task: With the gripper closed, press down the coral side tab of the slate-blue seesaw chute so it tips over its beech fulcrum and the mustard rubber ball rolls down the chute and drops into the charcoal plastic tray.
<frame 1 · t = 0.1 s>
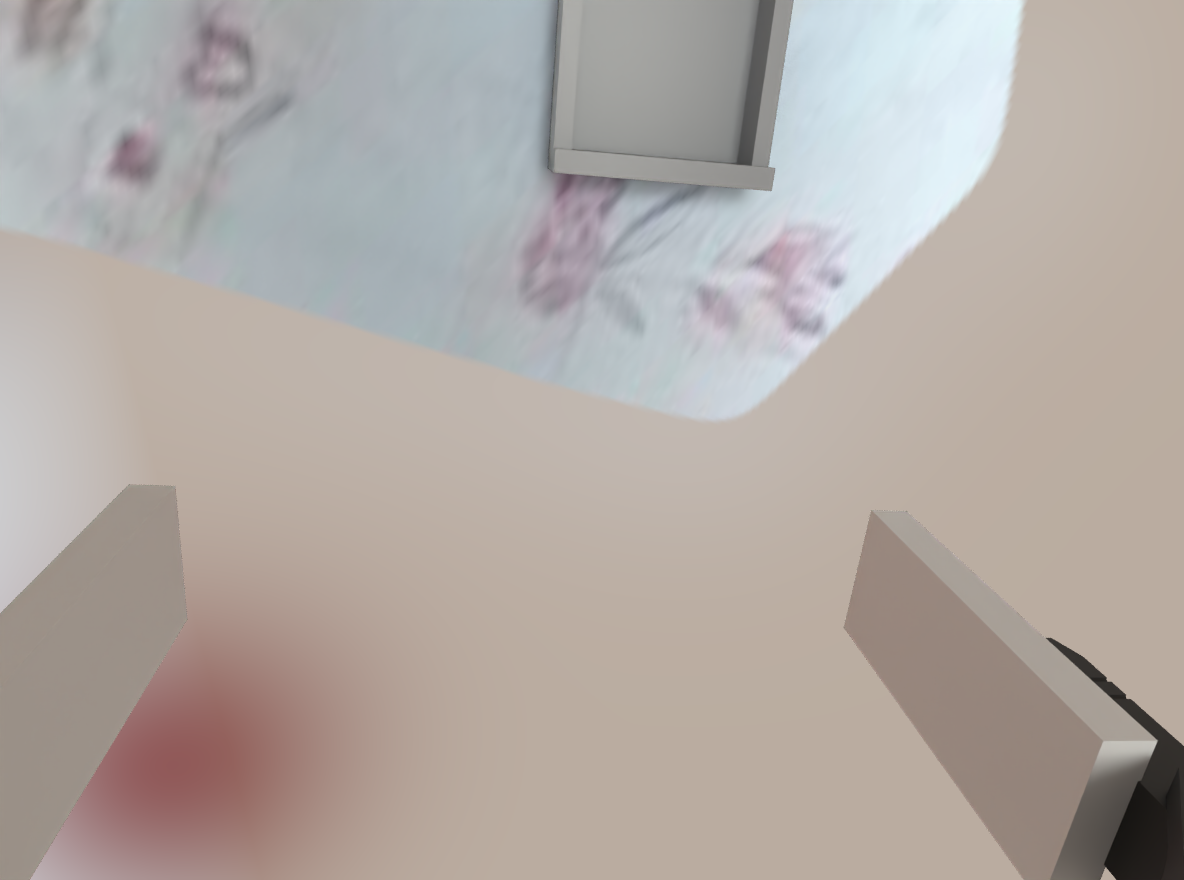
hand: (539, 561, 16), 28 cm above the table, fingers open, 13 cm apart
tray: (663, 31, 38), on the table
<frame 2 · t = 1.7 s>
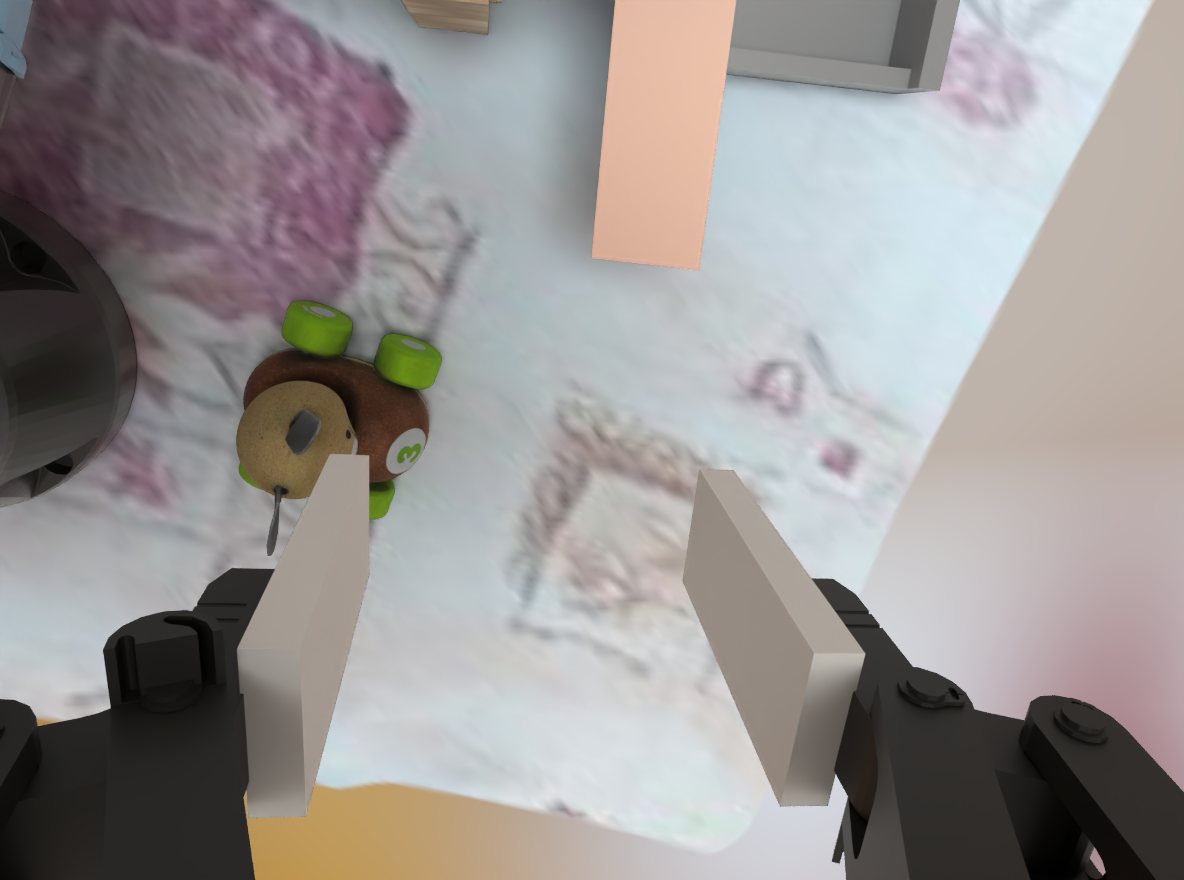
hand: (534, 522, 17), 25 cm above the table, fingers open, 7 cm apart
toy car: (345, 402, 42), on the table
lever: (441, 7, 28), point 8 cm above the table, hinge at -15.0°, touching ball
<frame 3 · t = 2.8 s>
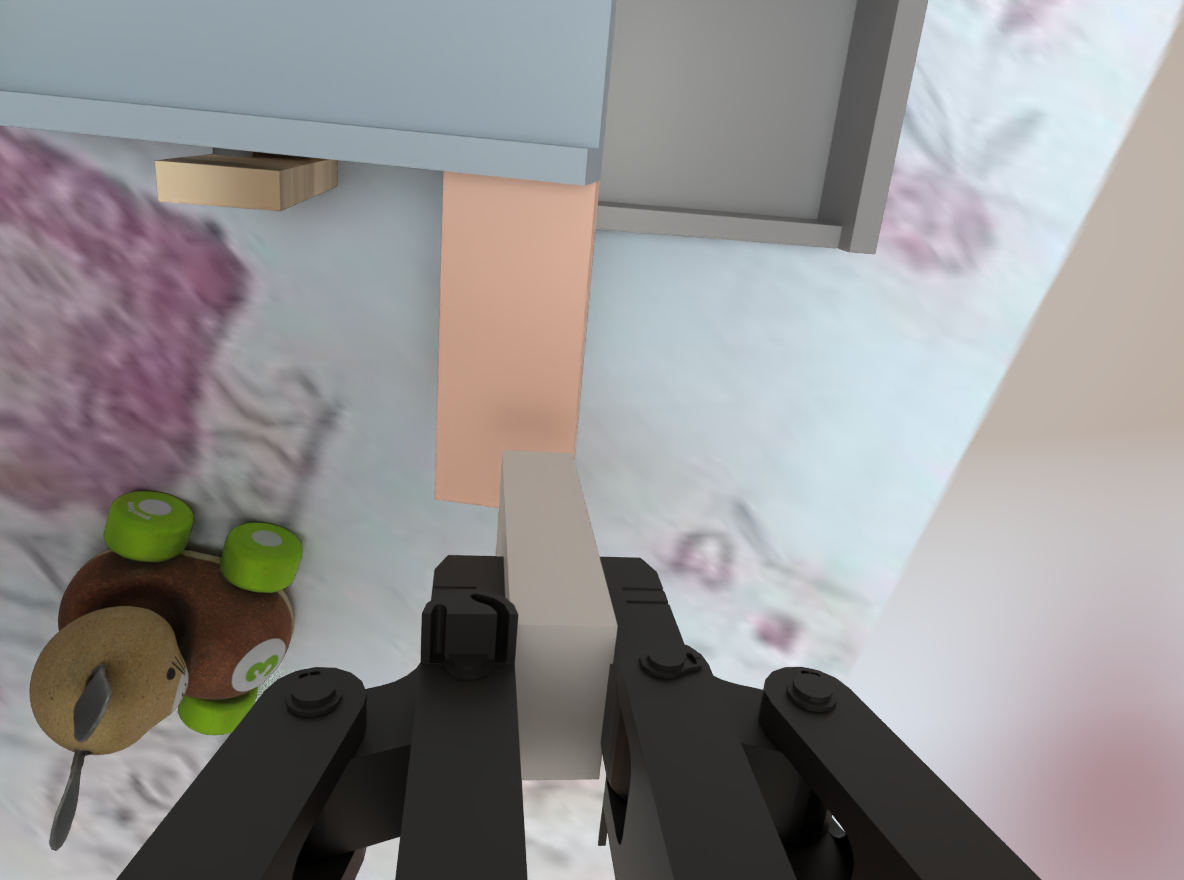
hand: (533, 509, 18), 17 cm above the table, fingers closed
toy car: (197, 594, 36), on the table
fulcrum: (290, 47, 28), on the table
tray: (693, 91, 31), on the table
lever: (229, 205, 22), point 8 cm above the table, hinge at -15.0°, touching ball
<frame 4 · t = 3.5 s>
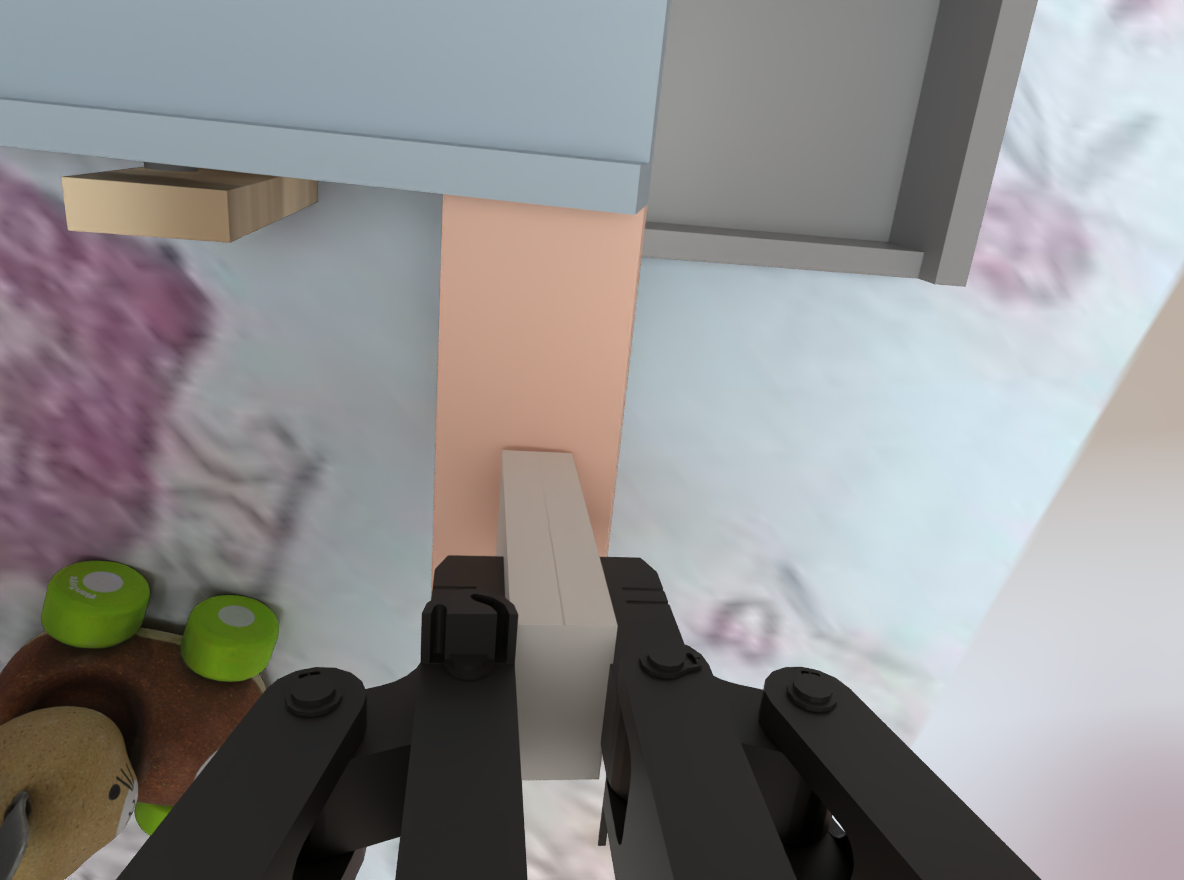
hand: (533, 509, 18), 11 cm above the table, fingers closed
toy car: (157, 674, 31), on the table
fulcrum: (259, 34, 23), on the table
tray: (745, 89, 26), on the table
lever: (166, 234, 17), point 8 cm above the table, hinge at -15.0°, touching ball, gripper
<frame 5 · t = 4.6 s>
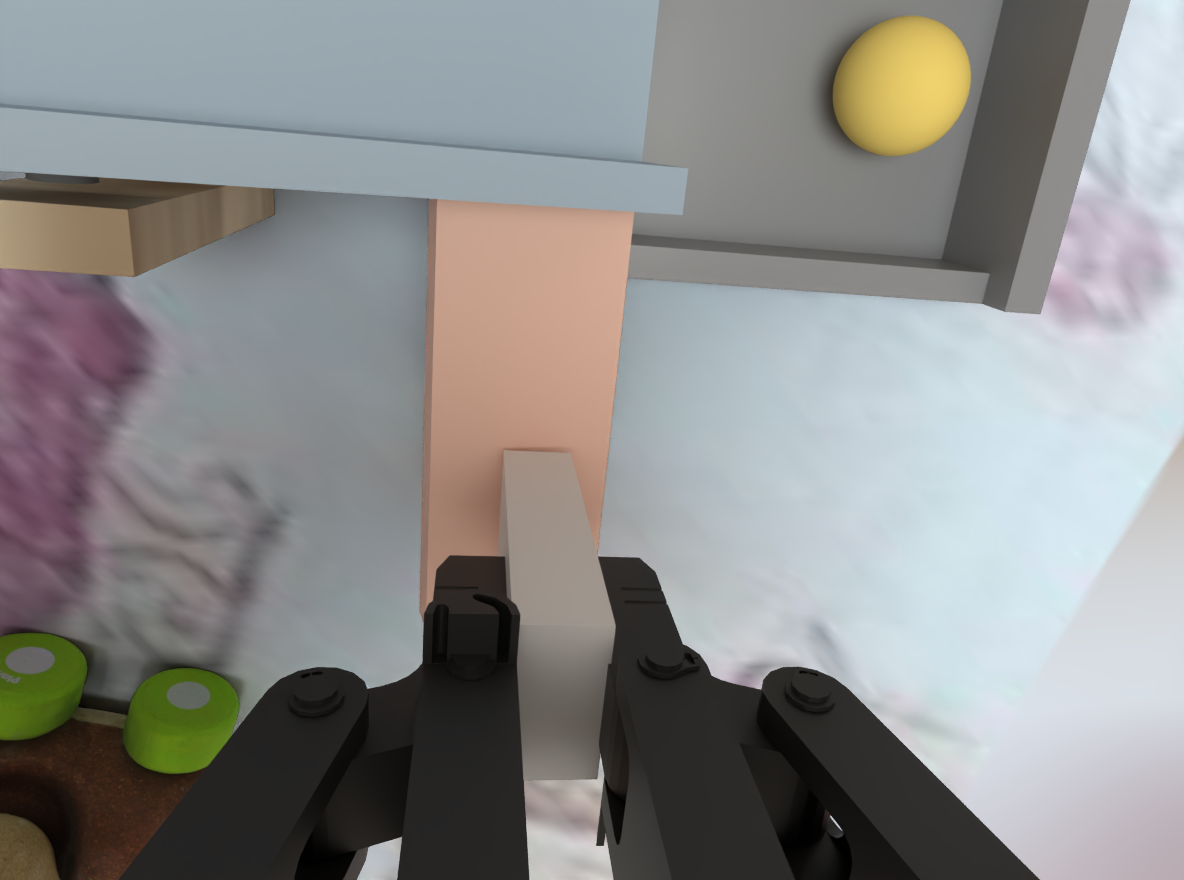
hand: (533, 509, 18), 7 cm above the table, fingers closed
ball: (899, 88, 20), point 2 cm above the table, tilted 166°, touching tray
toy car: (102, 756, 27), on the table
fulcrum: (201, 15, 20), on the table
tray: (778, 81, 22), on the table
lever: (69, 264, 13), point 8 cm above the table, hinge at 13.4°, touching gripper
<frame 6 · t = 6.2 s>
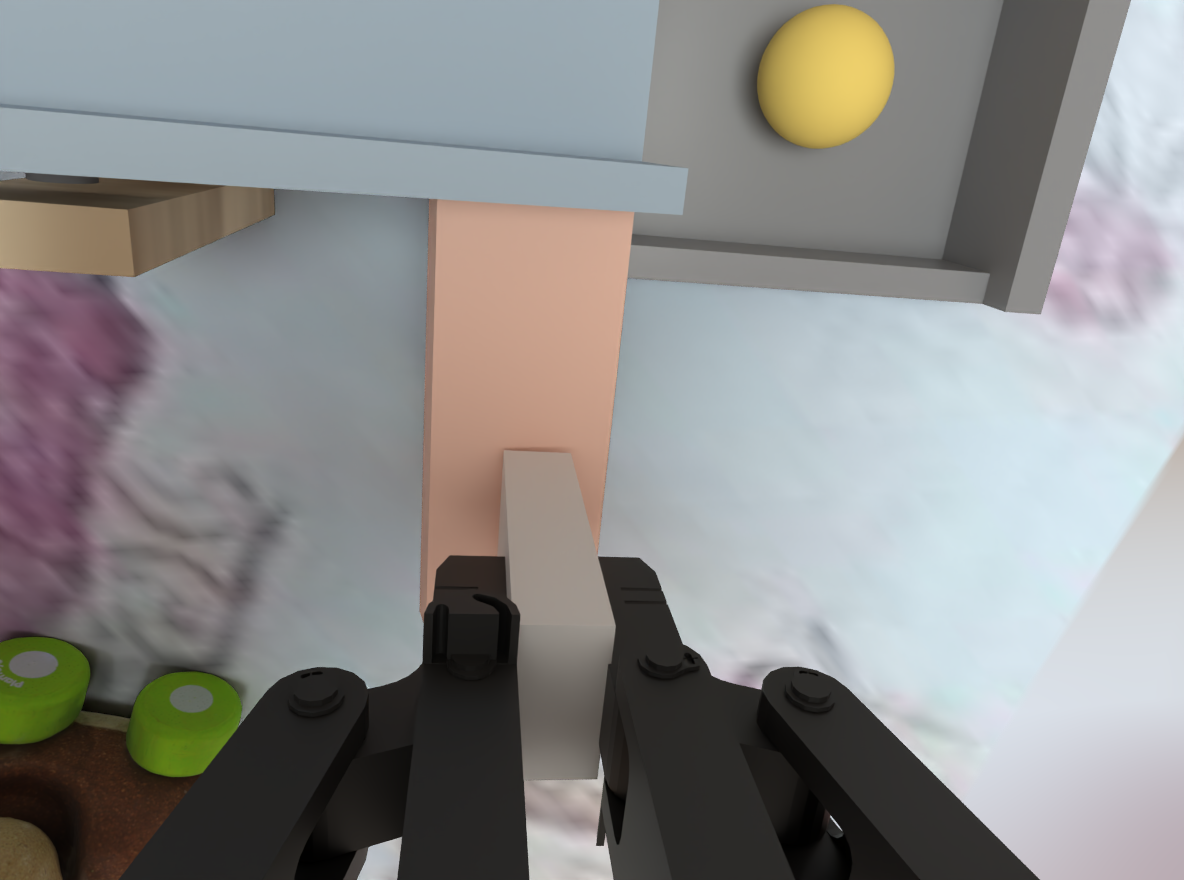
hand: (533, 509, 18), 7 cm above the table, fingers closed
ball: (824, 78, 20), point 2 cm above the table, tilted 144°, touching tray
toy car: (105, 759, 27), on the table
fulcrum: (201, 15, 20), on the table
tray: (778, 81, 22), on the table
lever: (69, 264, 13), point 8 cm above the table, hinge at 13.4°, touching gripper
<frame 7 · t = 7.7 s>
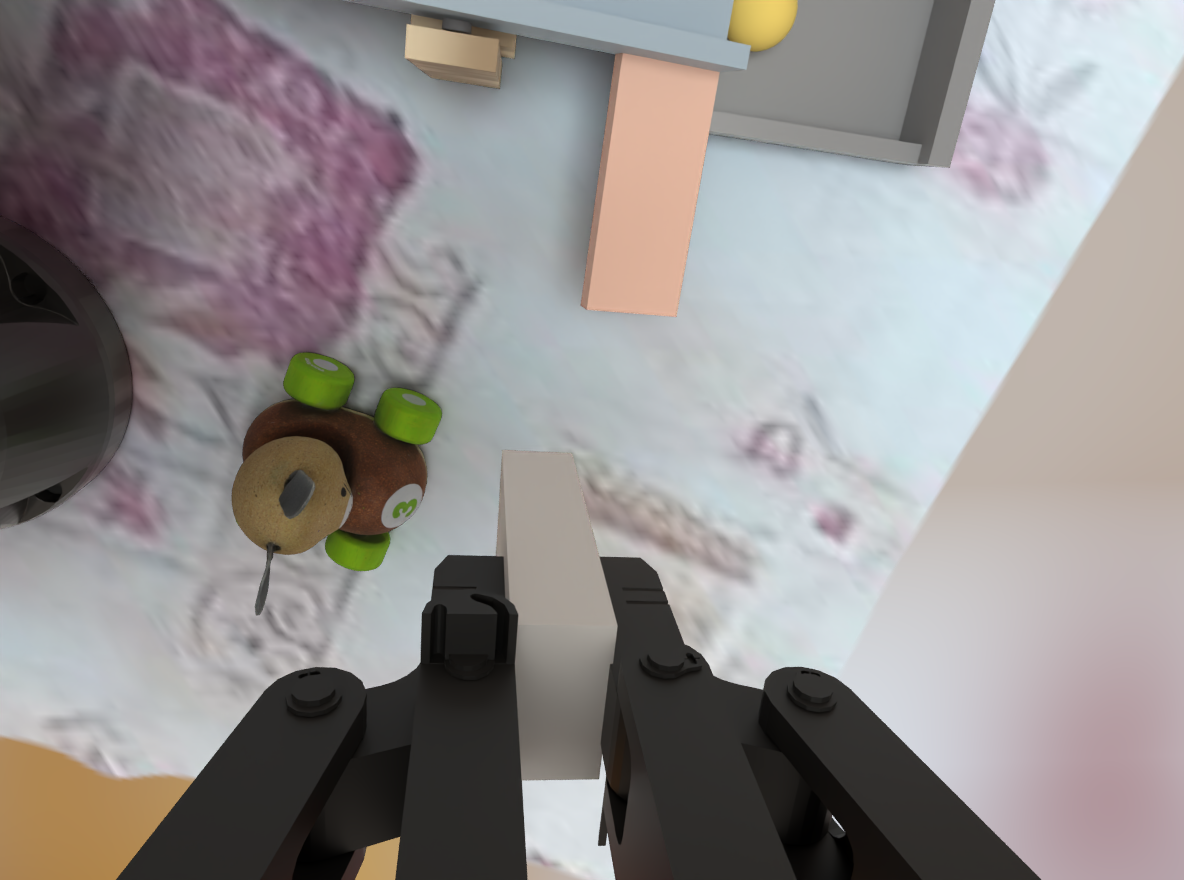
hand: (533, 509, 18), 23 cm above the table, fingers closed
ball: (758, 9, 34), point 2 cm above the table, tilted 35°, touching tray
toy car: (344, 452, 42), on the table
tray: (801, 26, 36), on the table
lever: (455, 71, 28), point 8 cm above the table, hinge at 13.5°
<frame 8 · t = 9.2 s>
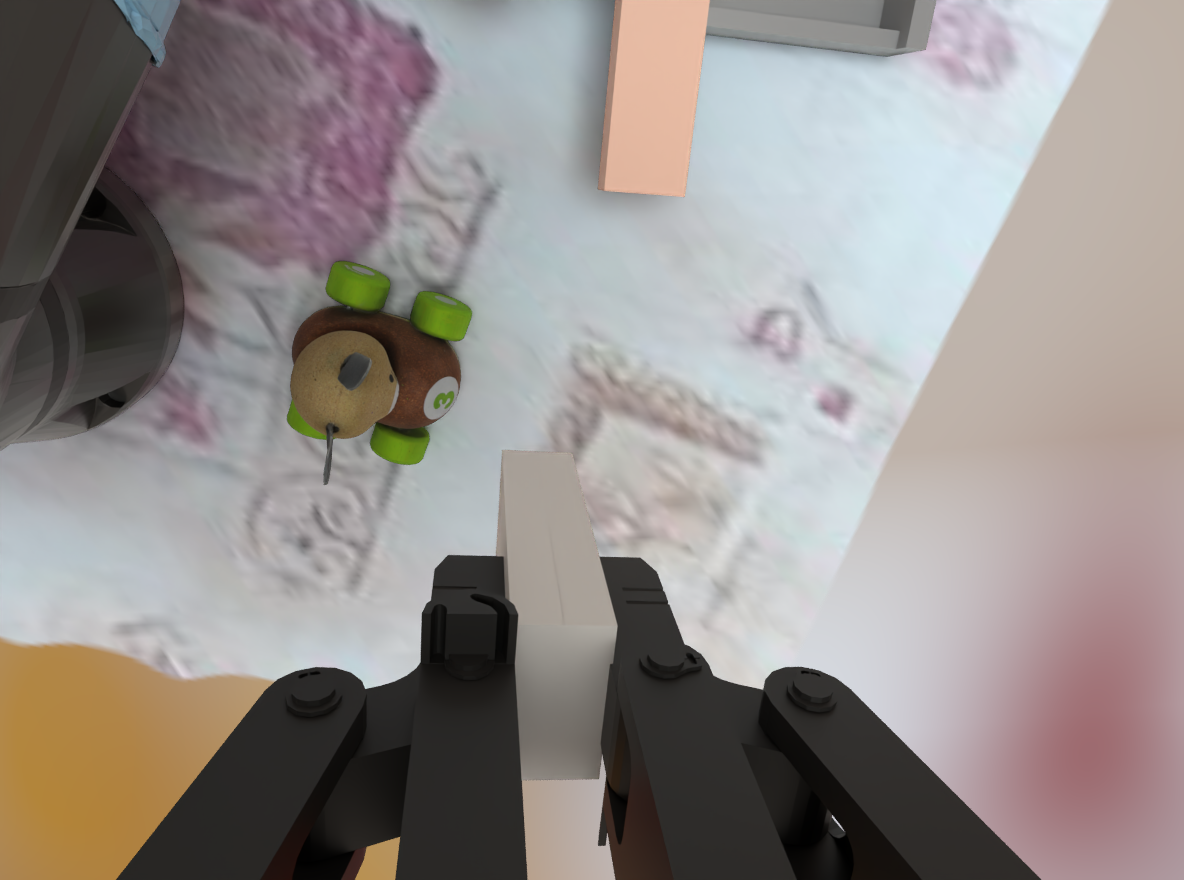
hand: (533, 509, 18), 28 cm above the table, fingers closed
toy car: (382, 357, 45), on the table
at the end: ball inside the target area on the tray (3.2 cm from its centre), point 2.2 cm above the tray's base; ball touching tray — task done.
